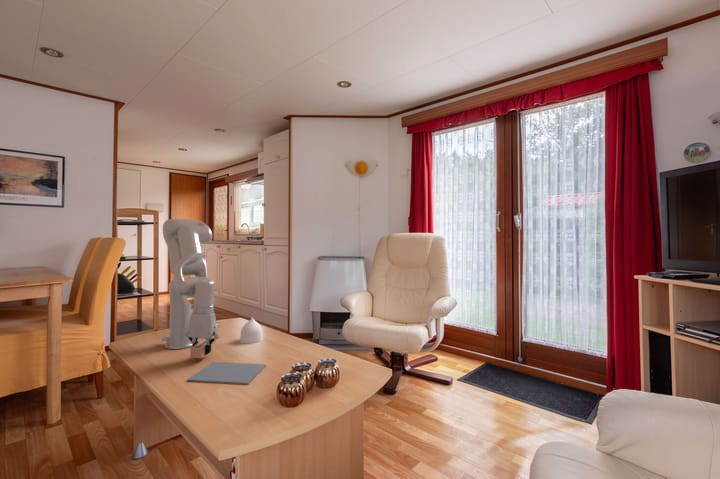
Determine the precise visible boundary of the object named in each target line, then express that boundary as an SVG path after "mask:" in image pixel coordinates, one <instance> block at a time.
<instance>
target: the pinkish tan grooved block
mask: <svg viewBox="0 0 720 479" xmlns="http://www.w3.org/2000/svg"><path fill="white" fill-rule="evenodd" d="M198 342H199V341H198ZM213 344H214V342H213V343H212V344H211V352H212V351H213ZM206 345H207V343H206V340H201V341H200V342H199V343H198V344H196V345H194V346H191V347H190V355H189V357H190V358H191V359H202V358H204V357H205V356H206V355H205V346H206Z"/></svg>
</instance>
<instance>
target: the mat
mask: <svg viewBox="0 0 720 479" xmlns="http://www.w3.org/2000/svg"><path fill="white" fill-rule="evenodd" d="M266 367H267V364H265V363H250V362H249V363H246V362H245V363H244V362H225V361H211V362H210V363H209V364H208V365H206V366H205V367H203V368H202V369H200V370H199V371H198V372H196V373H194V374H193V375H192V376H190V377H188V378H187V381H186V382H193V383H194V382H195V383H196V382H197V383H212V384H215V383H216V384H230V385H231V384H233V385H247V386H248V385H250V384H251V383H252V382H253V380H254V379H255V378H256V377H257V376H258V375H259V374H260V373H261V372H262V371H263V369H265V368H266Z"/></svg>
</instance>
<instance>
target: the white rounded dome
mask: <svg viewBox="0 0 720 479" xmlns="http://www.w3.org/2000/svg"><path fill="white" fill-rule="evenodd" d="M263 334H264V332H263V328H262V326H261V325H260V323H259V322H257V321H256V320H255V319H254V318H253V316H251V319H250V320H249V321H246V322H245V324H244V325H243V326H242V328H241V330H240V338H239V342H240V343H242V344H258V343H261V342H263V341H264V335H263Z"/></svg>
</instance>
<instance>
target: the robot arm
mask: <svg viewBox="0 0 720 479" xmlns="http://www.w3.org/2000/svg"><path fill="white" fill-rule="evenodd" d="M162 236H163V239H164V241H165V244H166V247H167V249H168V259H169V266H170V267H169V268H170V272H171V274H172V275H173V279H172V280H171V281H170V282H169V283H168V295H169V333H168V335H163V336H162V337H161V341H162V342H164V341H166V343H165V344H164V347H165V348H166V349H168V350H181V349H188V348H191V347H193V346H194V345H196V344H198V343H199V339H204V340H205V341H206V343H207V345H206V346H205V356H206V355H209V354H210V353H211V352H212V351H211V344H212V343H213V344H214V342H215V341H216V340H218V339H219V338H220V334H219V333H218V331H217V318H216V313H215V312H214V310H215V305H214V304H215V290H216V289H215V287H216V285H215V284H216V283H215V282H214V280H212V279H210V277H209V270H208V264H207V260H206V259H205V257H204V255H203V250H202V244H203V245H204V244H205V245H206V244H210V243H211V242H212V240H213V232H212V229H211V228H210V226H209V225H207V223H205V222H204V221H202V220H198V219H187V218H186V219H185V218H170V219H166V220H165V221H164V222H163V224H162ZM184 276H188V277H184ZM189 276H192V277H189ZM190 298H194V301H193V304H192V303H191V302H190V301H189V300H188V299H190ZM213 344H212V345H213Z"/></svg>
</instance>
